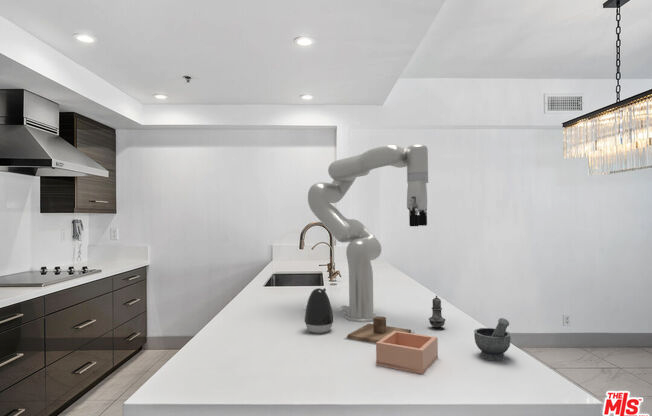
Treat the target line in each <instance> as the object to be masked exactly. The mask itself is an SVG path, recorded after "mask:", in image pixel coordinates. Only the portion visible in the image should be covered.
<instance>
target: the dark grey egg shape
mask: <svg viewBox="0 0 652 416" xmlns="http://www.w3.org/2000/svg"><path fill="white" fill-rule="evenodd" d="M326 291H327V289H326V288H323V289H322V288H315V289H313V290H312V291H311V293H310V295H309V297H308V300H307V304H306V306H305V310H304V311H305V313H304V323H305V327H306V329H307V330H308V331H309V332H310V333H312V334H325V333H328V332H329V331H330V330H331V329H332V326H333V323H334V314H333V308H332V304H331V302H330V298H329V295H328V294H327V292H326Z"/></svg>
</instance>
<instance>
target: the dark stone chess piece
mask: <svg viewBox="0 0 652 416" xmlns="http://www.w3.org/2000/svg"><path fill="white" fill-rule="evenodd" d="M431 310H432V316H431V317H428V322H429V324H430V325H431V327H430V330H433V331H443V330H445V328H444V327H443V326H444V325H445V323H446V318H444V317H443V315H442V310H443V308H442V300H441V298H439V297H438V295H435V297H434V298H433V299H432V307H431Z"/></svg>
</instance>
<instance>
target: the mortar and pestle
mask: <svg viewBox="0 0 652 416" xmlns="http://www.w3.org/2000/svg"><path fill="white" fill-rule="evenodd" d="M509 326H510V322H509V320H508V319H506V318H504V317H500V318H498V322H497V325H496V327H495V328H493V327H480V328H476V329H474V330H473V333H474V343H475V345H476V346H477V348H478V350H480V352H481V353H480V356H481V359H484V360H488V361H493V362H495V361H497V362H500V361H503V359H504V360H505V356H504V353H506V352H507V351H508V350H509V348H510V346H511V341H512V340H511V333H510V332H509V331H507V327H509Z"/></svg>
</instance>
